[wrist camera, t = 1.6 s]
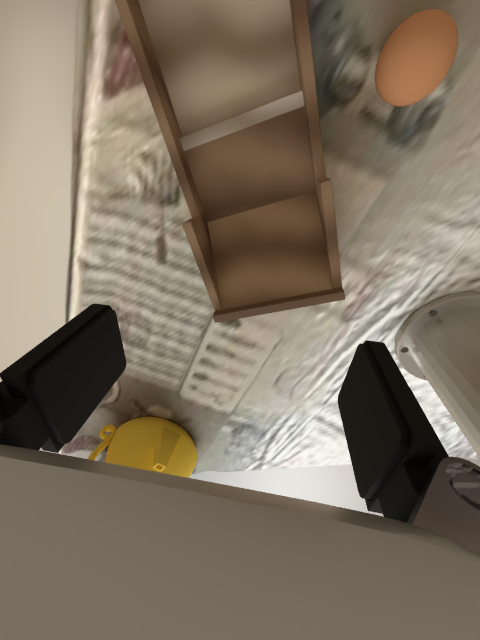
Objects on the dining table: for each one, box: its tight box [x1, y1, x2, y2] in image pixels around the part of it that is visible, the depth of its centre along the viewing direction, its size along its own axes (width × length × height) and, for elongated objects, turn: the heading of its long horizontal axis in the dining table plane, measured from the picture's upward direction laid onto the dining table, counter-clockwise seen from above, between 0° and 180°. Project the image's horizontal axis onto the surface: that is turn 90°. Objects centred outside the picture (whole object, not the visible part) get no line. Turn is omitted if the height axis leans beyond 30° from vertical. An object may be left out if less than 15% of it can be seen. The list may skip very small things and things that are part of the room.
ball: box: [375, 9, 458, 106], centre depth 18 cm, size 5×5×5 cm
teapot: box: [88, 416, 197, 478], centre depth 45 cm, size 20×19×13 cm
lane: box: [115, 0, 345, 323], centre depth 21 cm, size 27×13×7 cm, turn 16°
